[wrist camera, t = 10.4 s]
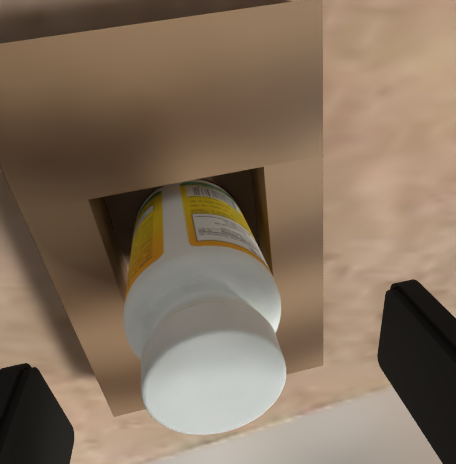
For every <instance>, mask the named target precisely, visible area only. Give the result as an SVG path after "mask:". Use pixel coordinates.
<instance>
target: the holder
mask: <svg viewBox="0 0 456 464" xmlns="http://www.w3.org/2000/svg"><path fill="white" fill-rule="evenodd" d="M0 167H1V169H2V171H3V174H4V176H5V178H6V180H7V182H8V185H9V187H10V189H11V191H12V193H13V196H14V198H15V200H16V202H17V204H18V207H19V209H20V211H21V213H22V215H23V218H24V220H25V222H26V224H27V226H28V229H29V231H30V233H31V235H32V237H33V240H34V242H35V244H36V246H37V249H38V251H39V253H40V255H41V257H42V260H43V262H44V264H45V266H46V268H47V271H48V273H49V275H50V277H51V279H52V282H53V284H54V286H55V288H56V290H57V293H58V295H59V297H60V299H61V301H62V304H63V306H64V308H65V310H66V312H67V315H68V317H69V319H70V321H71V323H72V326H73V328H74V330H75V332H76V334H77V337H78V339H79V341H80V343H81V345H82V348H83V350H84V352H85V354H86V356H87V359H88V361H89V363H90V365H91V367H92V370H93V372H94V374H95V376H96V378H97V381H98V383H99V385H100V387H101V389H102V392H103V394H104V396H105V398H106V400H107V403H108V405H109V407H110V409H111V411H112V414H113V416H114V417H115V416H119V415H123V414H127V413H131V412H136V411H140V410H144V409H146V408H145V405H144V403H143V400H142V395H141V360H140V359H139V358H138V357H137V356H136V354H135V353H134V351H133V350H132V348H131V347H130V344H129V342H128V340H127V337H126V334H125V330H124V322H123V314H124V303H125V295H126V288H127V280H128V273H127V270H126V267H125V264H124V260H123V257H122V254H121V251H120V248H119V245H118V242H117V239H116V236H115V233H114V230H113V227H112V223H111V220H110V217H109V214H108V211H107V208H106V205H105V202H104V199H103V197H105V196H110V195H115V194H121V193H126V192H131V191H136V190H142V189H147V188H152V187H158V186H163V185H168V184H174V183H179V182H184V181H190V180H195V179H200V178H206V177H211V176H216V175H222V174H227V173H232V172H238V171H243V170H248V169H251V170H252V179H253V189H254V199H255V209H256V218H257V228H258V238H259V248H260V251H261V253H262V255H263V257H264V259H265V261H266V263H267V265H268V267H269V269H270V271H271V273H272V276H273V278H274V280H275V282H276V284H277V287H278V290H279V294H280V299H281V316H280V322H279V325H278V328H277V331H276V333H275V334H276V337H277V341H278V343H279V346H280V349H281V352H282V354H283V357H284V360H285V365H286V374H290V373H294V372H298V371H302V370H306V369H310V368H314V367H319V366H323V48H322V0H300V1H293V2H286V3H279V4H272V5H265V6H258V7H251V8H244V9H237V10H230V11H223V12H216V13H209V14H202V15H195V16H188V17H181V18H174V19H168V20H161V21H154V22H147V23H140V24H133V25H126V26H119V27H112V28H105V29H98V30H91V31H84V32H77V33H70V34H63V35H56V36H49V37H42V38H35V39H28V40H21V41H15V42H8V43H1V44H0Z"/></svg>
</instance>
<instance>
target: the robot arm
mask: <svg viewBox="0 0 456 464" xmlns="http://www.w3.org/2000/svg"><path fill="white" fill-rule="evenodd" d="M378 362H379V365H380V367H381V369H382V371H383V372H384V374H385V375H386V377H387V378H388V380H389V381H390V383H391V385H392V386H393V388H394V389H395V391H396V392H397V394H398V395H399V397H400V398H401V400H402V401H403V403H404V404H405V406H406V408H407V409H408V410H409V412H410V414H411V415H412V417H413V418H414V420H415V421H416V423H417V425H418V426H419V427H420V429H421V431H422V432H423V434H424V435H425V437H426V438H427V440H428V441H429V443H430V444H431V446H432V448H433V449H434V451H435V452H436V454H437V455H438V457H439V458H440V460H441V461H442V463H443V464H456V318H455V317H454V316H453V315H452V314H451V313H450V312H449V311H448V310H447V309H446V308H445V307H444V306H443V305H442V304H441V303H439V302H438V301H437V300H436V299H435V298H434V297H433V296H432V295H431V294H430V293H429V292H428V291H427V290H426V289H425V288H424V287H423V286H422V285H421V284H420V283H419V282H418V281H417V280H414V279H413V280H408V281H404V282H399V283H394V284H392V285H391V288H390V290H388V291H387V292H386V294H385V302H384V310H383V317H382V325H381V332H380V340H379V348H378ZM73 444H74V430H73V427H72V425H71V423H70V422H69V420H68V418H67V417H66V415H65V413H64V412H63V410H62V408H61V407H60V405H59V403H58V402H57V400H56V398H55V397H54V395H53V393H52V392H51V390H50V388H49V387H48V385H47V383H46V382H45V380H44V378H43V377H42V375H41V373H40V372H39V370H38V369H37V368H36V367H34V368H32V367H31V366H30V365H29V364H27V363H25V364H20V365H15V366H11V367H6V368H2V369H0V464H70V459H71V454H72V449H73Z"/></svg>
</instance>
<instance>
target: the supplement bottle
mask: <svg viewBox="0 0 456 464" xmlns="http://www.w3.org/2000/svg"><path fill="white" fill-rule="evenodd" d="M280 316H281V299H280V294H279V290H278V287H277V284H276V282H275V280H274V278H273V276H272V273H271V271H270V269H269V267H268V265H267V263H266V261H265V259H264V257H263V255H262V253H261V251H260V249H259V247H258V245H257V243H256V241H255V239H254V236H253V234H252V232H251V230H250V228H249V226H248V224H247V222H246V220H245V218H244V216H243V214H242V212H241V210H240V208H239V206H238V205H237V203H236V202H235V200H234V199H233V198H232V197H231V195H230V194H229V193H227V192H226V191H225V190H224V189H222V188H221V187H219V186H217V185H215V184H213V183H210V182H207V181H204V180H198V179H195V180H190V181H184V182H179V183H174V184H168V185H164V186H162V187H160V188H159V189H157V190H156V191H154V192H153V193H152V194H151V195H150V196H149V197H148V198H147V199H146V201H145V202H144V203H143V205H142V206H141V208H140V210H139V212H138V214H137V217H136V220H135V225H134V232H133V240H132V249H131V257H130V265H129V272H128V280H127V288H126V295H125V303H124V314H123V322H124V330H125V334H126V337H127V340H128V342H129V344H130V347H131V348H132V350H133V351H134V353H135V354H136V356H137V357H138V358H139V359H140V360H141V395H142V400H143V403H144V405H145V408H146V410H147V411H148V412H149V414H150V415H151V416H152V417H153V418H154V419H155V420H156V421H157V422H159V423H160V424H162V425H163V426H165V427H167V428H170V429H172V430H174V431H177V432H181V433H186V434H197V435H206V434H215V433H221V432H226V431H230V430H232V429H235V428H239V427H241V426H243V425H245V424H247V423H249V422H251V421H253V420H255V419H256V418H258V417H259V416H260V415H262V414H263V413H264V412H265V411H266V410H267V409H268V408H270V407H271V406H272V405H273V404H274V402H275V401H276V400H277V398H278V397H279V395H280V394H281V392H282V389H283V387H284V384H285V380H286V365H285V360H284V357H283V354H282V352H281V349H280V346H279V343H278V341H277V337H276V334H275V333H276V331H277V328H278V325H279V322H280Z"/></svg>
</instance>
